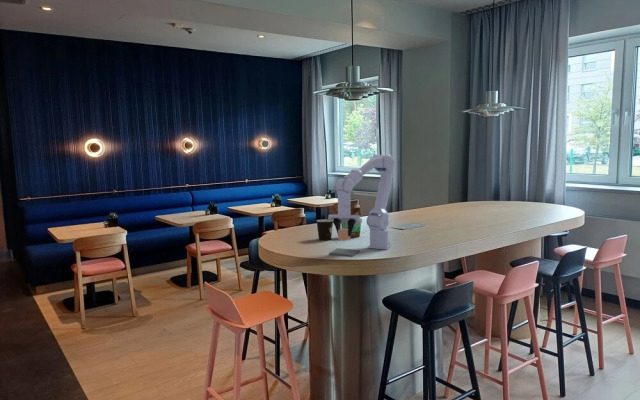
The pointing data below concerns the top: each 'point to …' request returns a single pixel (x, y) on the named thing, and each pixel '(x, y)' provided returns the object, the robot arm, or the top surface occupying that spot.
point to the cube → (343, 234)
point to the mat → (344, 252)
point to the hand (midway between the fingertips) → (344, 235)
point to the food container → (355, 229)
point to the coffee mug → (324, 229)
